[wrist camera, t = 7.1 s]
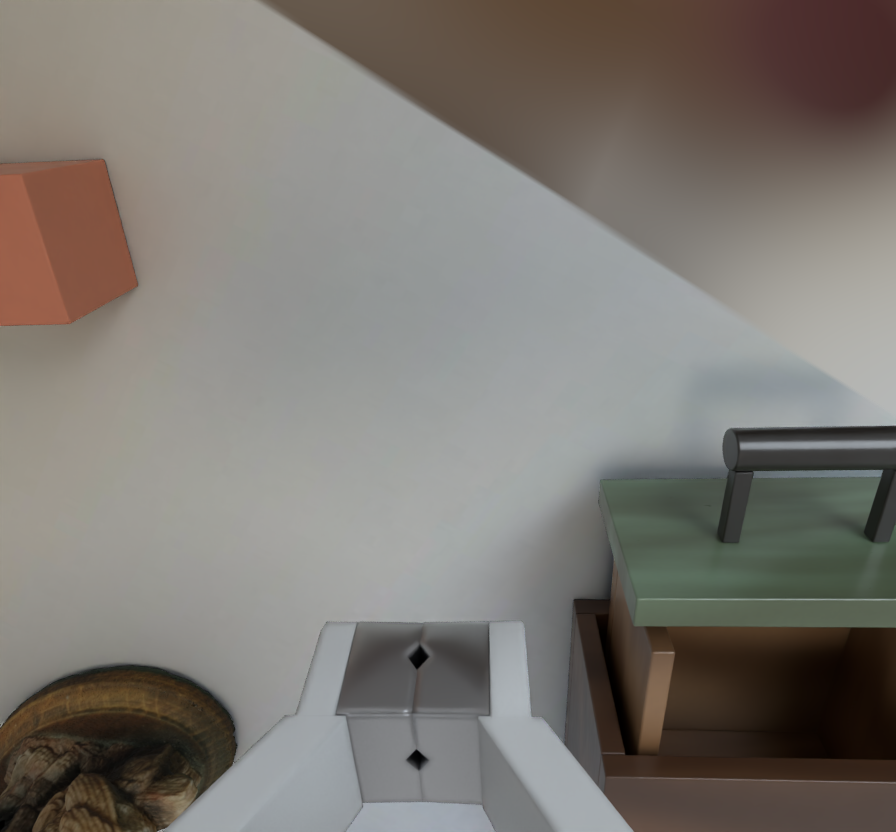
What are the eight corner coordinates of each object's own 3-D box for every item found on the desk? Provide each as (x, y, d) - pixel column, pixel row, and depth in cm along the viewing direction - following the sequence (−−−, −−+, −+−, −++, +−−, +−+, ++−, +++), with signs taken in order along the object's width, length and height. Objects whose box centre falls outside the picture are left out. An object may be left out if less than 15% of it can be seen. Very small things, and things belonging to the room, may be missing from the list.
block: (-18, 164, 22) (-128, 179, 18) (104, 159, 22) (20, 173, 18) (26, 289, 24) (-64, 328, 20) (139, 285, 24) (70, 324, 20)
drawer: (607, 383, 24) (650, 483, 18) (956, 376, 23) (1127, 479, 17) (580, 718, 32) (603, 863, 26) (834, 721, 32) (918, 872, 25)
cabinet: (573, 599, 30) (605, 777, 22) (873, 600, 29) (1017, 785, 21) (560, 801, 37) (581, 990, 29) (801, 807, 36) (888, 1002, 29)
